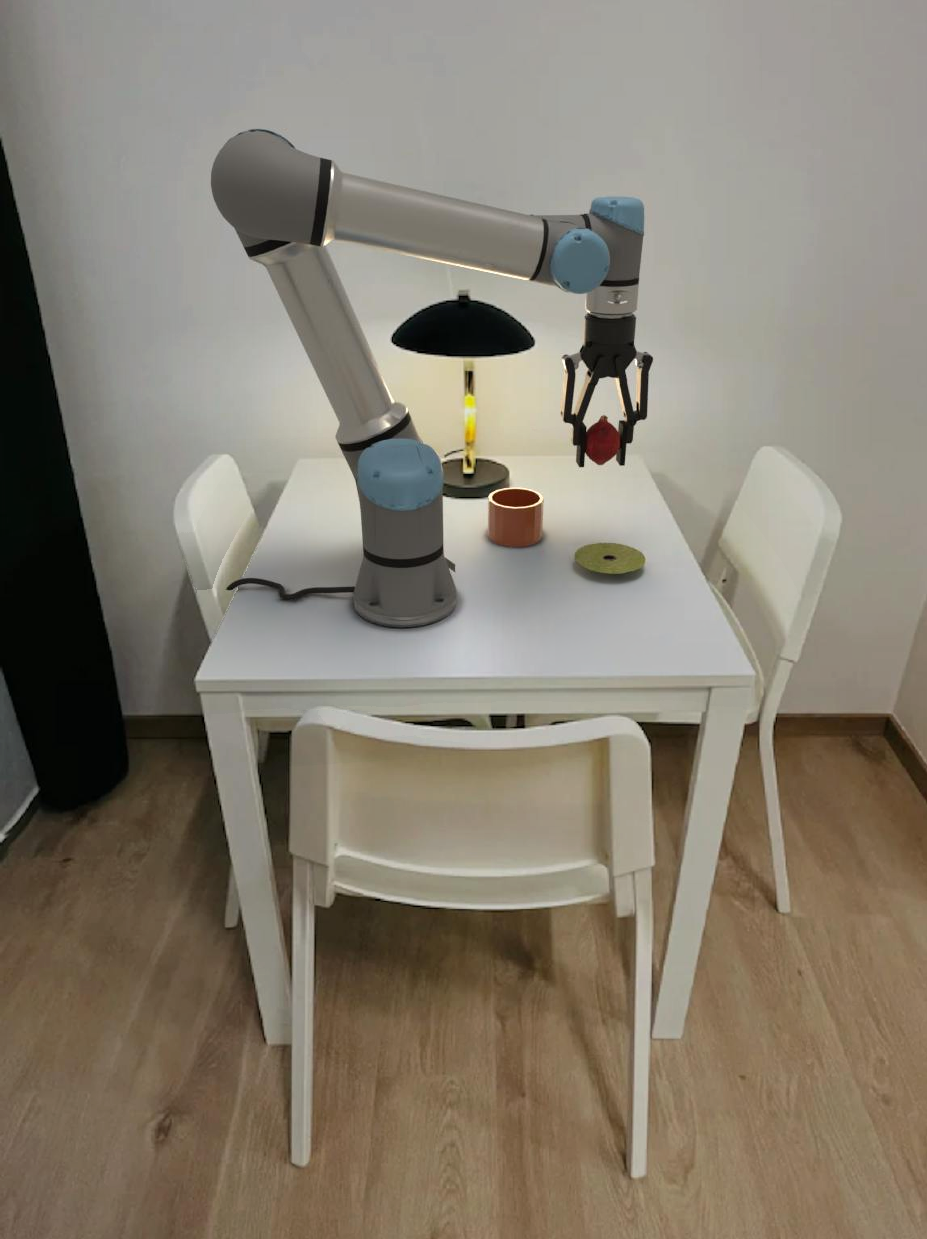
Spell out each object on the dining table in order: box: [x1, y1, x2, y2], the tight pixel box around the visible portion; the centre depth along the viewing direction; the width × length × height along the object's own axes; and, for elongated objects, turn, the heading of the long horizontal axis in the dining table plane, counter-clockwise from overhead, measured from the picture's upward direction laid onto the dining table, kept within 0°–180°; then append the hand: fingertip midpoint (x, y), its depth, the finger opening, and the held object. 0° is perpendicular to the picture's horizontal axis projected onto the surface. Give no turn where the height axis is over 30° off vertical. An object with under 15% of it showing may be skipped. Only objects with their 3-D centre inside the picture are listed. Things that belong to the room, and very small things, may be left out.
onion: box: [585, 414, 620, 466], centre depth 143 cm, size 6×6×8 cm
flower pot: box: [487, 487, 545, 548], centre depth 155 cm, size 9×9×7 cm
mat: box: [573, 542, 646, 575], centre depth 146 cm, size 11×11×2 cm
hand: (600, 463), depth 145 cm, fingers closed on onion, 6 cm apart
